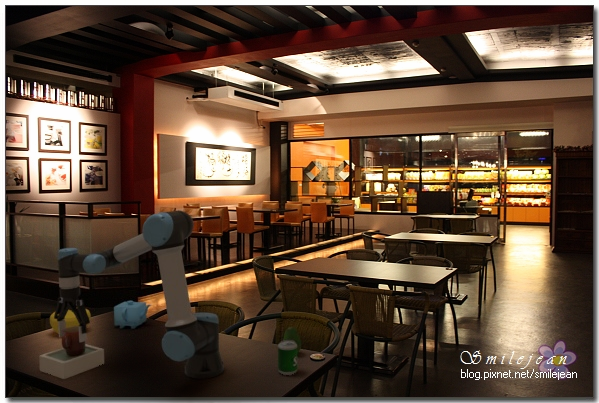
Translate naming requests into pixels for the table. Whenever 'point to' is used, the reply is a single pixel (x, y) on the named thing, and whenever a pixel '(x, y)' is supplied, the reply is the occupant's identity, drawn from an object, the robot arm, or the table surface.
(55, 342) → the table surface
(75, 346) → the mug
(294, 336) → the fruit
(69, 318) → the vase
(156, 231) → the robot arm
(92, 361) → the rectangular box
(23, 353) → the table surface
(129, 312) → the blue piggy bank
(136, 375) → the table surface
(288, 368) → the soda can
